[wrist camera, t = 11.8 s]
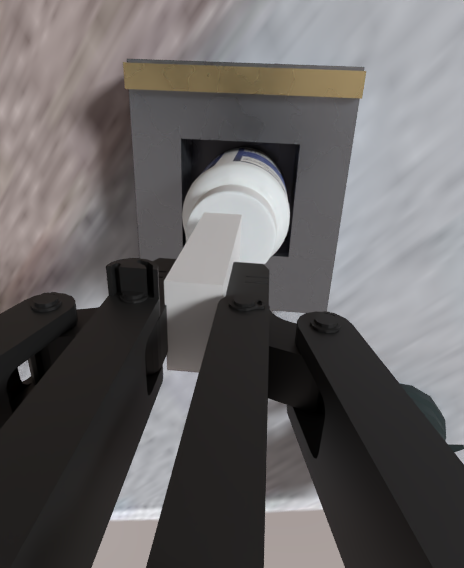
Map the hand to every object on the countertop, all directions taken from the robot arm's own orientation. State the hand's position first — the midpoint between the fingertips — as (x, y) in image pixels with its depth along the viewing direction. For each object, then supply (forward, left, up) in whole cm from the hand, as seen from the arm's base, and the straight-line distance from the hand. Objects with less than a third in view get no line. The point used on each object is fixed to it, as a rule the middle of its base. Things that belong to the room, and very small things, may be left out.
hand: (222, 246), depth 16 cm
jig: (0, 0, -11) cm, 11 cm away
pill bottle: (0, 0, -11) cm, 11 cm away
